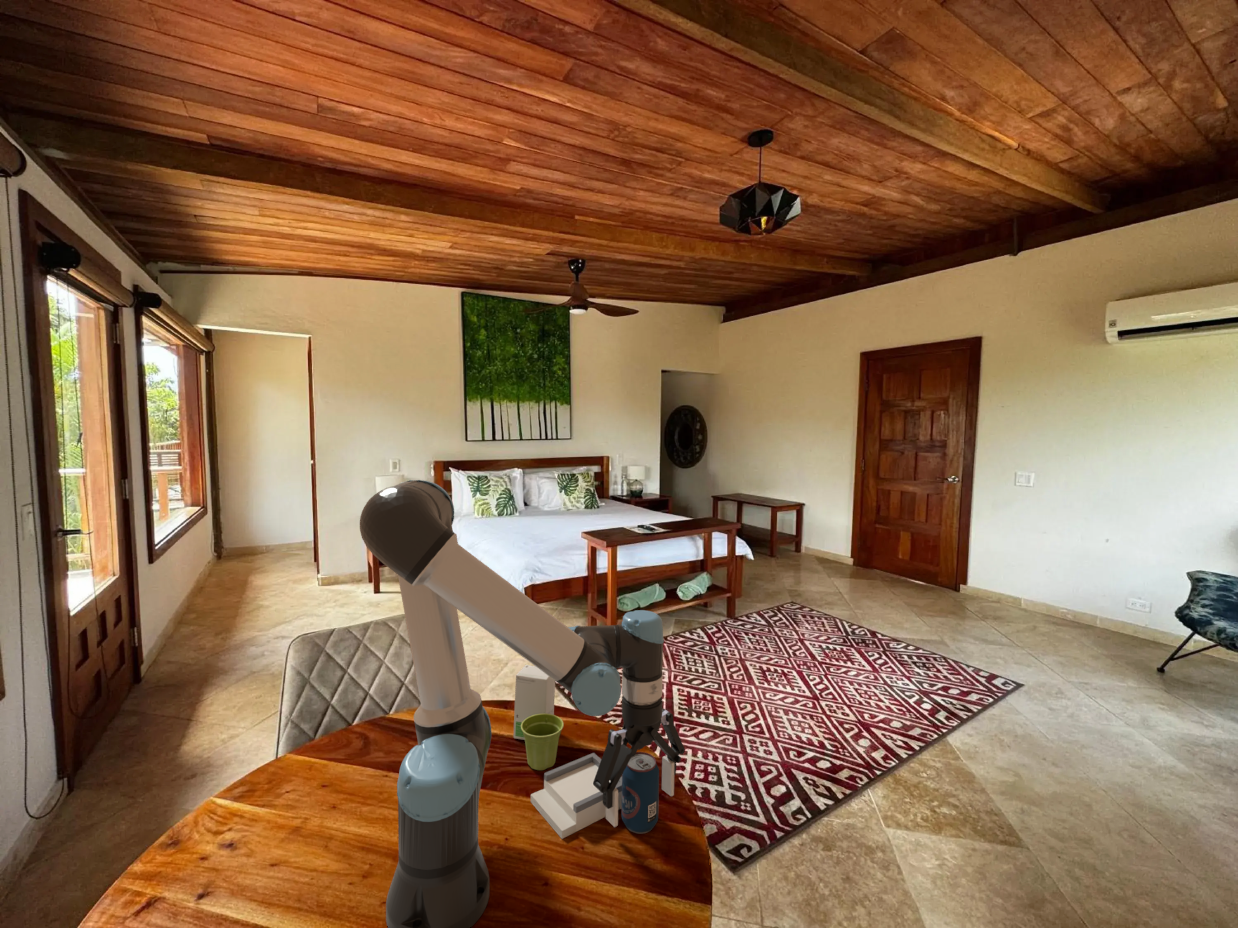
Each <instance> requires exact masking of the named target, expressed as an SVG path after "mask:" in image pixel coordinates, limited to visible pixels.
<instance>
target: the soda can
mask: <svg viewBox="0 0 1238 928" xmlns="http://www.w3.org/2000/svg"><path fill="white" fill-rule="evenodd" d="M621 777H622V808H621V810H620V811H621V814H620V815H621V820H622V822H623V824H624V825H625V828H627V830H629V831H630V832H632V833H634V834H638V835H639V834H641V835H642V834H646V833H649V832H651V830H652V831H653V829H654V827H655V826H656V824H657V823H658V820H659V806H660V805H659V803H660V801H659V800H660V799H659V798H660V797H659V795H660V794H659V793H660V768H659V766H658V764H657V760H656V758H655V757H654V755H652V754H650V753H648V752H645V751H637V752H636V754H635V755H634V756H632V757H631V759H630V761H629V763H628V764H627V766H626V768H625V770H624V772H623V774H622V776H621Z"/></svg>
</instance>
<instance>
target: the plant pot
mask: <svg viewBox="0 0 1238 928" xmlns="http://www.w3.org/2000/svg"><path fill="white" fill-rule="evenodd" d="M564 724H565V723H564V720H563V719H562V718H561V717H559V716H558V715H555V714H554V715H553V714H546V713H543V714H536V715H532V716H530V717H528V718H526V719H525V720H524V721H523V722H522V724H521V730H522V732H523V735H524V737H525V740H524V742H525V743H524V745H525V753H526V760H527V764H528V766H529V767H530V768H531V769H532V770H537V771H544V770H546V769H549V768H552V767H553V766H554V765H555V763H556V758H557V754H558V753H557V752H558V746H559V739H560V736H561V733H562V730H563V729H564Z"/></svg>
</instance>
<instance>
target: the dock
mask: <svg viewBox="0 0 1238 928" xmlns="http://www.w3.org/2000/svg"><path fill="white" fill-rule="evenodd" d="M601 759H602V758H601V757H599V756H598V755H597V754H596V753H595V752H592V753H590V754H587V755H585V756H582V757H580V758H578V759H575V760H573V761H570V762H568V763H565V764H563V765H561V766H558V767H556V768H554V769H551V770H548V771H546V772H544V774H543V789H540V790H538V791H535V792H533V793H531V794H530V803H531V804H532V805H533V807H535V810H537V811H538V812H539V814H540V815H541V817H543V819H544V820H545V821H546V822H547V823H548V824H549V825H550V827H551V828H552V829H553V830H554V831H555V833H556V834H557V835H558V837H559V838H560V839H562V840H563V839H565V838H566V837H569V836H570V835H573V834H575V833H577V832H578V831H580V830H583V829H584V828H586V827H588V826H590V825H592V824H594V823H597V822H598V821H600V820H601V819H603V818H606V807H605V806H604V804H603V793H601V792H600V791H599V790H598V789H597V788H596V787H595V786H594V785H593V782H594V779H595V776H596V773H597V770H598V768H599V765H600V762H601ZM609 782H610V780H609ZM615 788H616V789H617V790H618V811H619V810H622V776H621V778H620V779H619V781H618V783H617V785H616V787H615Z"/></svg>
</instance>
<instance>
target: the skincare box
mask: <svg viewBox="0 0 1238 928" xmlns="http://www.w3.org/2000/svg"><path fill="white" fill-rule="evenodd" d="M514 690H515V691H514V692H515V693H514V712H513V713H514V715H513V716H514V720H513V738H514V739H518V740H524V741H525V737H524V735H523V732H522V730H521V724H522V722H523V721H524V720H525V719H526V718H528V717H530V716H532V715H536V714H543V713H546V714H553V715H555V694H556V693H555V692H556V691H555V690H556V681H555V680H554V679H552V678H551V677H549V676H548V675H547V674H545V673H544V672H543V671H541V670H540V669H538V668H537V667H536V666H534V665H529V664H525V665H524V666H523V667H521V669H520V670H519V671H518V672H517V673H516V674H515V689H514Z"/></svg>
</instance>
